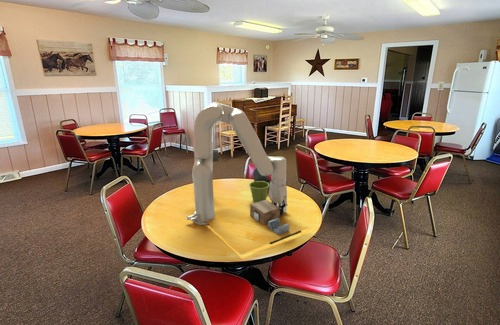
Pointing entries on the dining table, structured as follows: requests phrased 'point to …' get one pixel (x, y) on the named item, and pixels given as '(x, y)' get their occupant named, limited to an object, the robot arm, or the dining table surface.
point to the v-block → (279, 229)
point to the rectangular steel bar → (257, 214)
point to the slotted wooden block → (265, 211)
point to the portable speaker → (260, 177)
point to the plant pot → (259, 190)
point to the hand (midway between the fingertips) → (277, 212)
